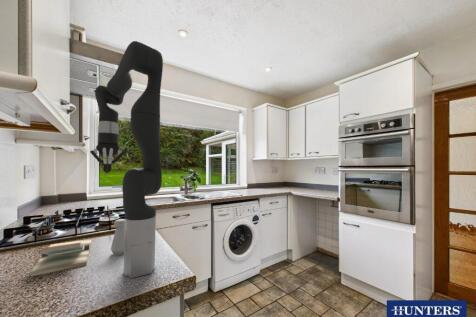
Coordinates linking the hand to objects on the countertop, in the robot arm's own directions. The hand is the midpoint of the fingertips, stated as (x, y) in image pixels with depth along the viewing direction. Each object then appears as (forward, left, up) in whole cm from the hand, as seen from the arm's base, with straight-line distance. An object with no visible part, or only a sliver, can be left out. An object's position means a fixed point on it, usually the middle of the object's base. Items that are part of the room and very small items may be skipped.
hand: (107, 172), depth 88 cm
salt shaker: (-12, -5, -31) cm, 34 cm away
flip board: (-4, +12, -31) cm, 33 cm away
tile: (-9, +12, -26) cm, 30 cm away
